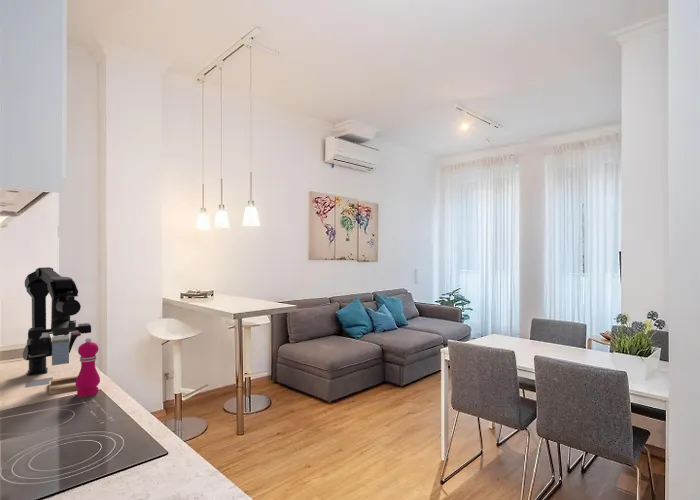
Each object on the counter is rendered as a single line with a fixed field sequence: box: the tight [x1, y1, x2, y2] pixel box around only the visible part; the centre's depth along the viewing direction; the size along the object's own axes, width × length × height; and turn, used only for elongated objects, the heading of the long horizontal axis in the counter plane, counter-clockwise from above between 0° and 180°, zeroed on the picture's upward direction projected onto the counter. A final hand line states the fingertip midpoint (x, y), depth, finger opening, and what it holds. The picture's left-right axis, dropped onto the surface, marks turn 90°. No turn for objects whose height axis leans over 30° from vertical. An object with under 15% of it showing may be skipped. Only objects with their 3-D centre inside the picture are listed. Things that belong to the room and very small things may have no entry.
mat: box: [24, 377, 54, 388], centre depth 149 cm, size 8×8×1 cm
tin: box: [51, 334, 70, 366], centre depth 146 cm, size 7×5×9 cm
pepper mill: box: [76, 337, 101, 398], centre depth 139 cm, size 7×7×20 cm
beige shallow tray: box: [48, 375, 79, 395], centre depth 145 cm, size 12×10×2 cm
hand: (60, 353), depth 146 cm, fingers closed on tin, 5 cm apart
